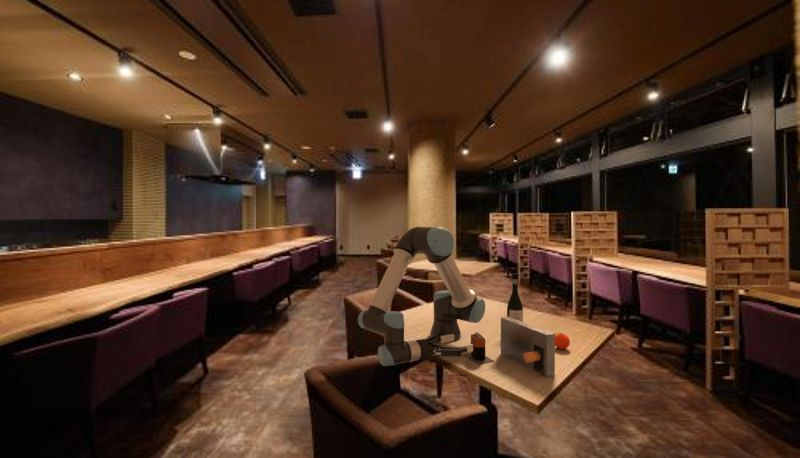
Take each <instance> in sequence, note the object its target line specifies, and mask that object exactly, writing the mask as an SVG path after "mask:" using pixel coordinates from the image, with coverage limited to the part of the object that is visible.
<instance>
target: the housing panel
mask: <svg viewBox="0 0 800 458" xmlns="http://www.w3.org/2000/svg"><path fill="white" fill-rule="evenodd" d="M555 335H556V334H555V333H554V332H552V331H549V330H545V328H541V327H538V326H535V325H533V324H530V323H527V322H524V321H523V322H522V321H519V320H516V319H513V318H511V317H507V316H503V317H500V355H502V356H503V357H506V358H508V359H510V360H512V361H514V362H515V363H517V364H520V365H522V367H526V368H527V369H529V370H531V371H533V372H536V371H540V370H541V371H543V377H545V378H546V379H547V378H551V377H554V376H555V373H556V372H555V371H556V370H555V368H556V367H555V366H556V363H555V362H556V346H555ZM532 351H537V352H538V353H539V354H540V360H539V361H534V362H530V363H526V362H525V361H524V359H523V354H524V353H527V352H532Z"/></svg>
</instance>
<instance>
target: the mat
mask: <svg viewBox="0 0 800 458" xmlns="http://www.w3.org/2000/svg"><path fill="white" fill-rule="evenodd" d="M462 356H463V357H465V358H467V359H468V360H470V361H472V362H473V363H475V364H476V365H478V366H479V365H482V364H483V365H485V364H488V363H492V362H494V359H492V358H490V357H488V356H486V355H485V360H477V361H476V360H475V359H474V358H473V357H472V355H471V352H468V353H463V354H462Z"/></svg>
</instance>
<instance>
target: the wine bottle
mask: <svg viewBox="0 0 800 458" xmlns="http://www.w3.org/2000/svg"><path fill="white" fill-rule="evenodd" d="M511 274H512V275H511V277H512V290H511V295H510V298H509V300H508V303H507V308H506V317H511V318H513V319H516V320H519V321H522V322H524V306H523V302H522V299H521V297H520V295H519V288H518V287H519V286H518V285H519V282H518V281H519V280H518V279H519V274H518V273H516V272H515V273H513V272H512V273H511Z"/></svg>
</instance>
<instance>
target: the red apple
mask: <svg viewBox="0 0 800 458" xmlns="http://www.w3.org/2000/svg"><path fill="white" fill-rule="evenodd" d="M570 344H571V341H570V338H569V337H568V335H567V334H565V333H561V332H556V333H555V348H557V349H558V350H566V349H568V347H569V346H570Z"/></svg>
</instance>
